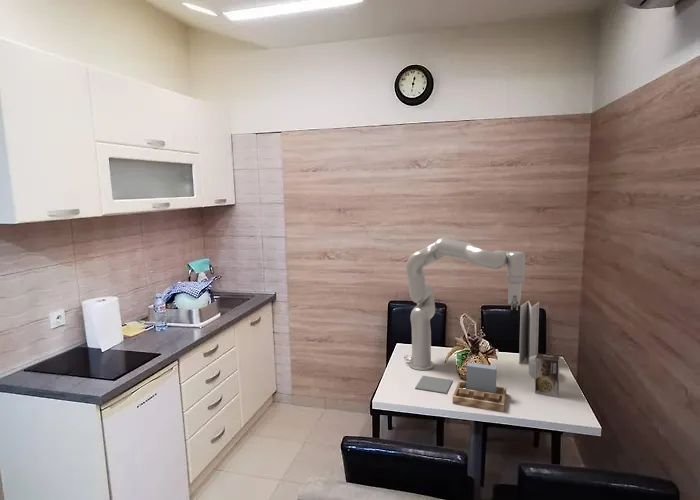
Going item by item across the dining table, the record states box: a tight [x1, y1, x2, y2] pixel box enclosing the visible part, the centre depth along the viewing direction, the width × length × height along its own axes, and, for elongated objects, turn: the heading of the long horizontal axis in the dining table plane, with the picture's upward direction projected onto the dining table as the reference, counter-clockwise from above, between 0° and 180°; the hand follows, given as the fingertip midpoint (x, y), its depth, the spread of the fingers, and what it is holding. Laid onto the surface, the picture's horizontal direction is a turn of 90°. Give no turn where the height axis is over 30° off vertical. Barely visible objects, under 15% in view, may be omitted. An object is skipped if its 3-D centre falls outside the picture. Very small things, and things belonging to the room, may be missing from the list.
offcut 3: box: [487, 393, 501, 403], centre depth 173 cm, size 4×4×4 cm
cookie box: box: [534, 352, 560, 398], centre depth 182 cm, size 9×6×16 cm
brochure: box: [518, 300, 540, 364], centre depth 218 cm, size 14×6×30 cm, turn 143°
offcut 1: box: [458, 389, 471, 398], centre depth 178 cm, size 4×4×4 cm
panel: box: [465, 362, 498, 394], centre depth 182 cm, size 12×4×13 cm, turn 66°
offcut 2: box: [472, 391, 485, 401], centre depth 176 cm, size 4×4×4 cm
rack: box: [452, 380, 507, 413], centre depth 179 cm, size 20×16×3 cm
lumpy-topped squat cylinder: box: [528, 355, 537, 379], centre depth 200 cm, size 10×13×9 cm
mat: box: [414, 375, 453, 395], centre depth 193 cm, size 14×14×1 cm
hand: (514, 315), depth 193 cm, fingers open, 9 cm apart
